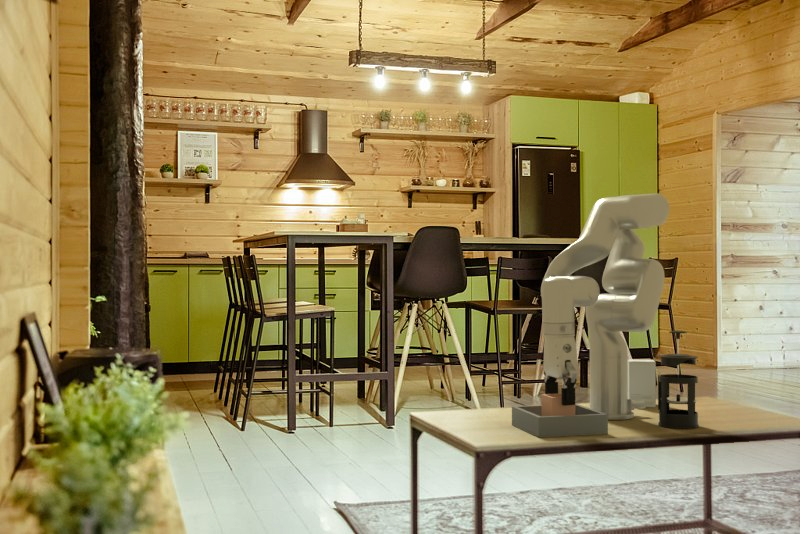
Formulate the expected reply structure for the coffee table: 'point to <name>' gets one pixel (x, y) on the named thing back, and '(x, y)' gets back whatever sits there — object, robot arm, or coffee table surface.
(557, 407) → the small crate
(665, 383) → the french press
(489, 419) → the coffee table surface
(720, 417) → the coffee table surface
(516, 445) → the coffee table surface
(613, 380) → the robot arm
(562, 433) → the grey square tray
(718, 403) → the coffee table surface
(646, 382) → the supplement box
